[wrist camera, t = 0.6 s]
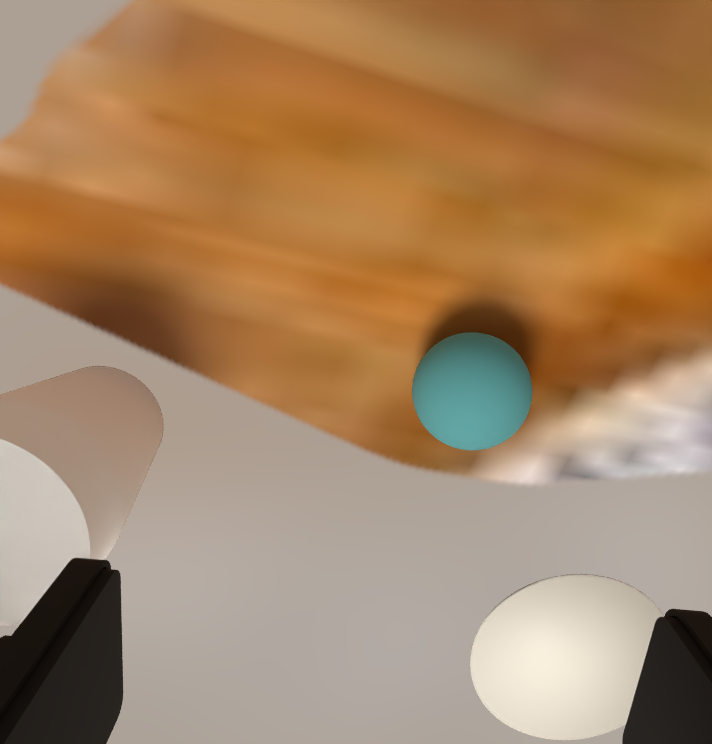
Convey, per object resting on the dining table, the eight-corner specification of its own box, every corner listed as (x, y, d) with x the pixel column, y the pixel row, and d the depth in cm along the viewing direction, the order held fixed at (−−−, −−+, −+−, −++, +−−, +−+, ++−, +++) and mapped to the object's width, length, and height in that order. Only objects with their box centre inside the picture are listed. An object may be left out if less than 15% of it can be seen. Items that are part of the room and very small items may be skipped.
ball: (497, 304, 33) (523, 329, 27) (530, 401, 34) (562, 445, 28) (393, 344, 33) (397, 377, 28) (430, 437, 35) (442, 487, 29)
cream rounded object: (644, 547, 37) (645, 548, 37) (694, 705, 40) (695, 708, 40) (441, 612, 39) (442, 614, 38) (506, 758, 42) (506, 761, 42)
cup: (216, 437, 35) (141, 559, 24) (103, 515, 37) (-18, 663, 26) (112, 313, 33) (-24, 381, 22) (-3, 401, 35) (-185, 507, 24)
